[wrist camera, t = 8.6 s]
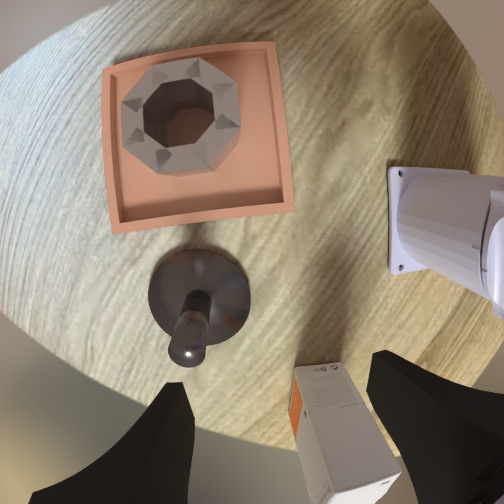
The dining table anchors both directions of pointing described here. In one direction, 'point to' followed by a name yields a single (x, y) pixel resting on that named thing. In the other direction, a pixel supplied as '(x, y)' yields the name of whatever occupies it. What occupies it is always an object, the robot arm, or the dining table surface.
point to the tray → (189, 131)
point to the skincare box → (338, 438)
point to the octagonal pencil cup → (168, 105)
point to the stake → (198, 302)
